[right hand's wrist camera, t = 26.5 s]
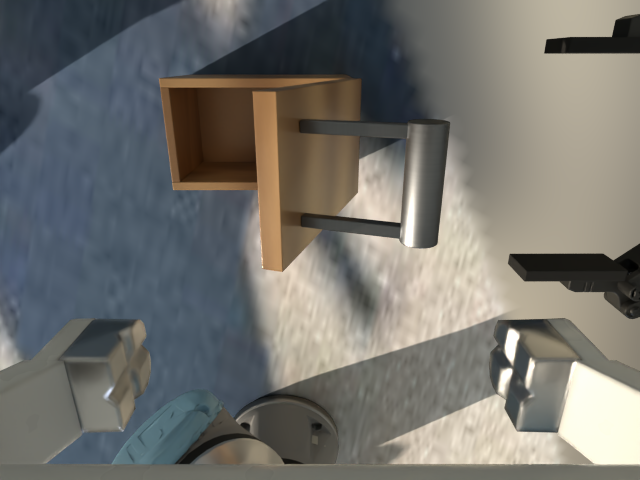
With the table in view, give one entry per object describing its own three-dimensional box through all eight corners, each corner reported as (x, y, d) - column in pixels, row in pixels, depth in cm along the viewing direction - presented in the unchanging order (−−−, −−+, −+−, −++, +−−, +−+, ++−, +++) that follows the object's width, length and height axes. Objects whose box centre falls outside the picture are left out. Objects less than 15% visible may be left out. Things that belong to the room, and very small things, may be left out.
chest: (199, 166, 48) (172, 190, 40) (189, 74, 45) (158, 78, 36) (345, 166, 48) (350, 190, 40) (346, 74, 45) (353, 77, 36)
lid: (261, 268, 25) (428, 294, 22) (251, 90, 21) (449, 95, 18) (344, 191, 39) (450, 201, 36) (346, 78, 36) (464, 79, 33)
